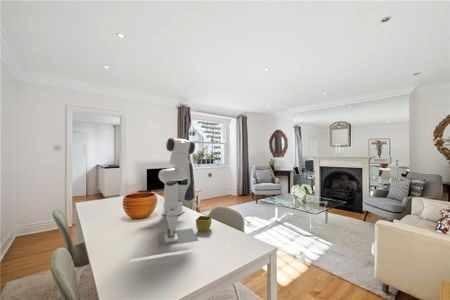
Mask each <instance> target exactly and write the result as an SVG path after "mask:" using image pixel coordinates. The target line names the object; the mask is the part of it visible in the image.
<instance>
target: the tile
mask: <svg viewBox="0 0 450 300" xmlns="http://www.w3.org/2000/svg"><path fill="white" fill-rule="evenodd" d="M175 241H178V237H177V234H176V233H175V237H171V238H168V236H167V235H165V243H168V242H175Z"/></svg>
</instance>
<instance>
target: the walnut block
mask: <svg viewBox="0 0 450 300" xmlns="http://www.w3.org/2000/svg"><path fill="white" fill-rule="evenodd" d="M175 230H176V229H175ZM175 230H174V235H172V236H171V235H170V230H169V228H167V231H166V232H167V236H168V238H171V237H175Z"/></svg>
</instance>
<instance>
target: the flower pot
mask: <svg viewBox="0 0 450 300" xmlns="http://www.w3.org/2000/svg"><path fill="white" fill-rule="evenodd" d="M212 219H213V218H212V216H208V215H199V216H198V217H197V218H196V219H195V225H196V230H197V231H198V232H204V233H207V232H209V230H210V228H211V226H212Z"/></svg>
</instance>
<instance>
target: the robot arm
mask: <svg viewBox="0 0 450 300" xmlns="http://www.w3.org/2000/svg"><path fill="white" fill-rule="evenodd" d="M165 147H166V150H167V151H168V152H171V153H170V160H169V164H170V165H171V166H172V167H174V168H164V169H161V170H159V172H158V178H159V180H160V181H161V182H162V183H164V186H163V187H164V188H163V199H164V201H163V210H162V213H161V215H164V216H166V221H167V224H168V229H169V230H170V235H171V236H172V235H174V230H176V229H177V225H178V224H177V223H178V215H179V216H180V215H182V214H183V213H185V210H183V202H182V201H189V202H191V201H192V200H194V199H195V198H196V192H197V191H196V188H195V180H194V179H195V177H194V169H193V164H192V162H191V161H189V155H193V154H194V152H195V150H196V144H195V142H194V141H192V140H187V139H183V138H174V137H169V138H168V139H167V140H166V143H165ZM184 180H187V184H179V183H178V181H181V182H182V181H184Z"/></svg>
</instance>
